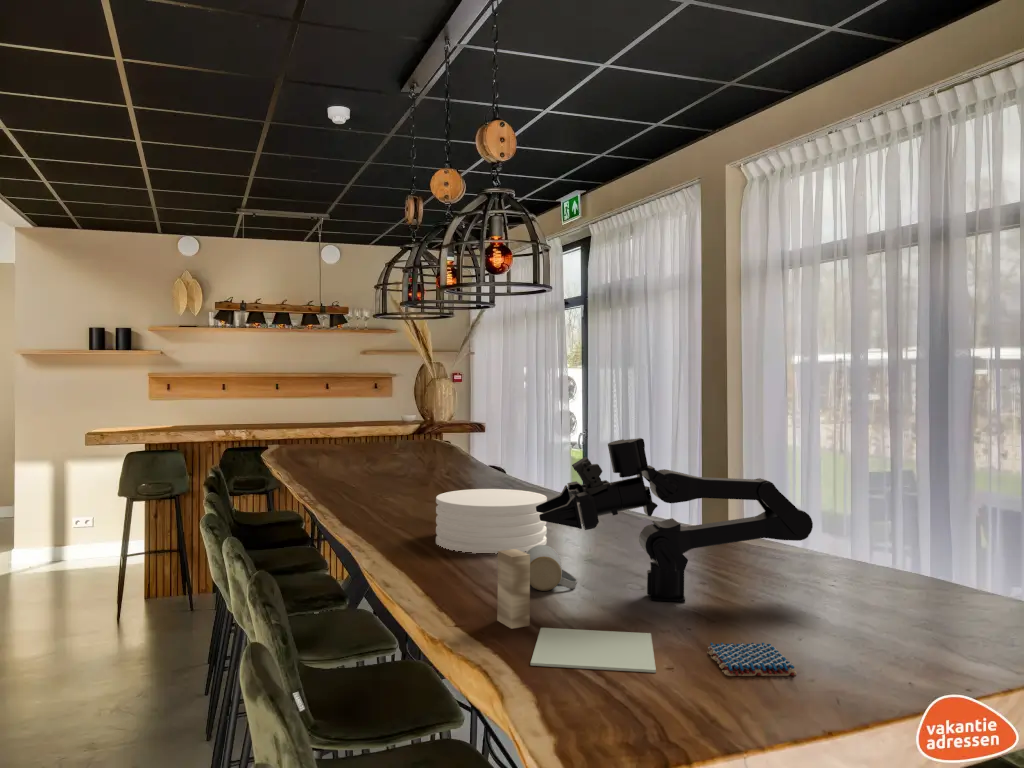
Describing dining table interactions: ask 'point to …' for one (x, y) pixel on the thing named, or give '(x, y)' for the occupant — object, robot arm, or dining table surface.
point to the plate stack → (489, 520)
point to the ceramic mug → (548, 569)
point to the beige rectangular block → (513, 588)
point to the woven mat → (751, 660)
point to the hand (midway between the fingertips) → (537, 513)
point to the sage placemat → (594, 650)
